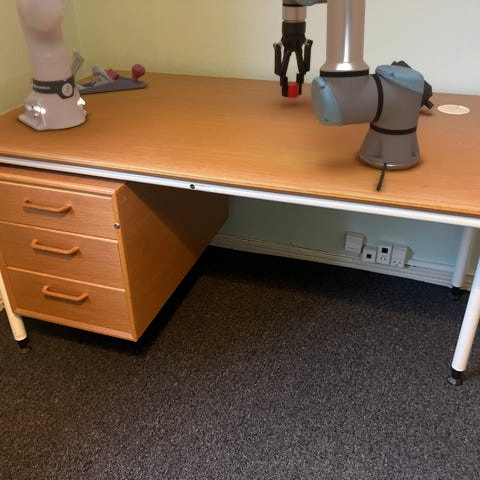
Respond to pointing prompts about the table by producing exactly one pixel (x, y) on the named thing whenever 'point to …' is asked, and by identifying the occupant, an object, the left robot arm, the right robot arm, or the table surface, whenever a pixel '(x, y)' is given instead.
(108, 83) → the hand plane
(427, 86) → the tool
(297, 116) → the table surface
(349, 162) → the table surface
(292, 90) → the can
